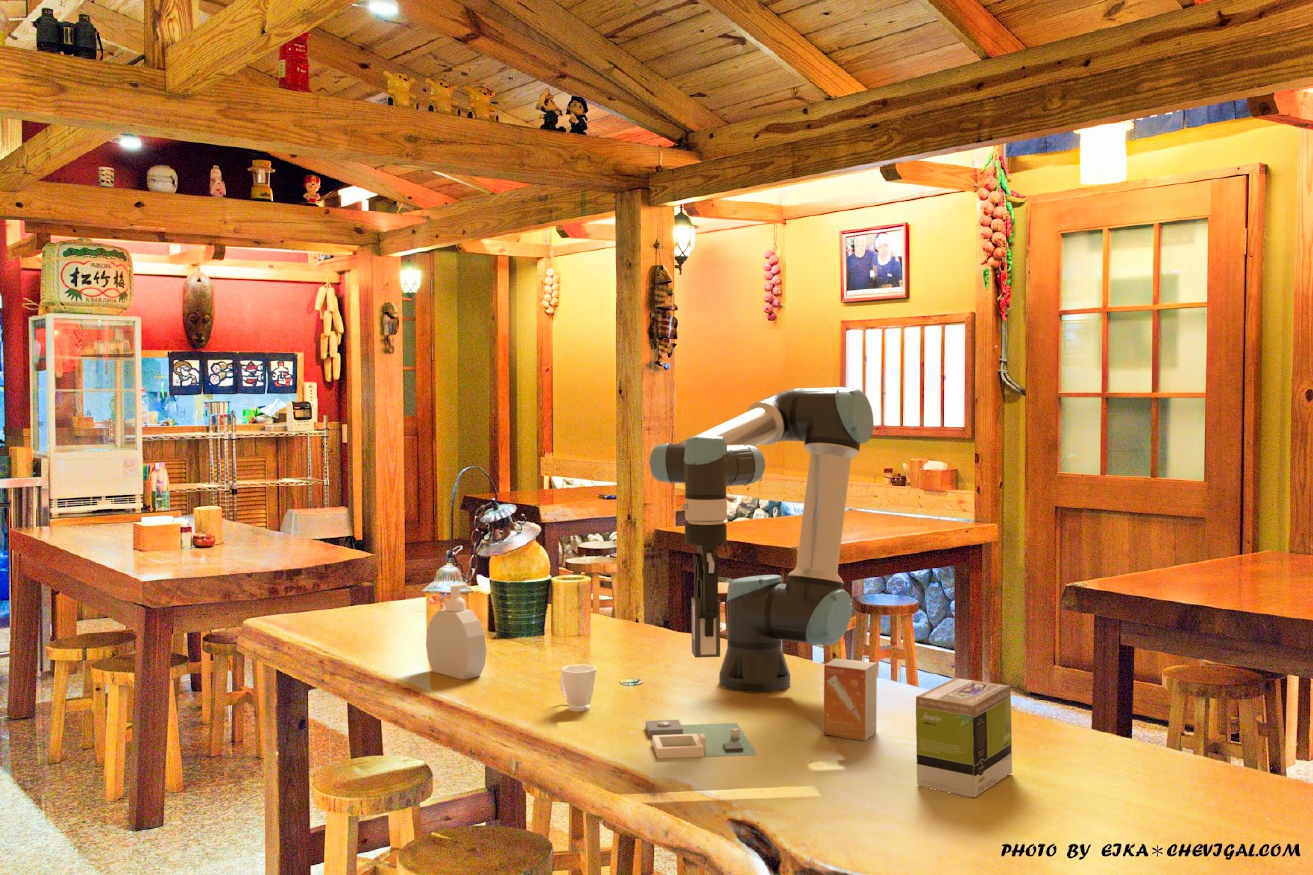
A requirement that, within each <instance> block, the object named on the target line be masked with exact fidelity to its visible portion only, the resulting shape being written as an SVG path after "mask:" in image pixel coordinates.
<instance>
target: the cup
mask: <svg viewBox="0 0 1313 875" xmlns="http://www.w3.org/2000/svg"><path fill="white" fill-rule="evenodd" d="M596 672H597V668H596V667H595V666H594V665H590V664H583V663H581V664H569V665H566V666H563V667H561V673H560V682H559V683H560V691H561V694H562V695H563V698H564V699H565V701H566V702H567V703H568V707H567V709H568V710H569V711H570V712H571V711H572V712H575V713H576V712H577V713H579V712H586V711H589V710H591V707H590V704H591V702H592V698H593V693H594V685H595V679H596Z"/></svg>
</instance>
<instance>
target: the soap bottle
mask: <svg viewBox="0 0 1313 875" xmlns="http://www.w3.org/2000/svg"><path fill="white" fill-rule="evenodd" d="M466 587H467V584H466V583H459V584H458V583H457V584H451V585H450V597H449V598H447V599H446V600H445V608H443V609H438V610H437V611H436V612H435V613H434V614H433V615H432V616H431V619H430V621H429V625H428V627H427V629H426V630H427V632H426V643H425V644H426V645H425V646H426V653H427V659H428V663H429V666H430V668H431V671H432V673H435V674H440V675H444V676H447V677H451V678H453V679H456V680H457V679H458V680H462V681H465V680H469V679H474V678H478V677H481V675H482V672H483V670H484V667H485V665H486V659H487V657H486V656H487V642H486V635H485V632H484V630H483V627H482V624H481V620H480V619H479V617H477V615H476V614H475V613H474V611H473V610H471V609H467V608H466V607H467V606H466V601H465V599H464V598H463V597H461V590H460V589H464V588H466Z"/></svg>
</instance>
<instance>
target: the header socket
mask: <svg viewBox="0 0 1313 875" xmlns="http://www.w3.org/2000/svg"><path fill="white" fill-rule="evenodd" d="M652 745H653V746H652ZM672 745H692V746H674V747H663V746H672ZM651 746H652V748H653V747H654V749H653V751H654V750H655V752H654V754H655V753H656V755H657V757H656V759H657V758H669V759H683V758H682V757H693V758H705V757H704V752H706V737H705V735H704V733H702V734H699V737H698V735H697V734H675V735H652V744H651ZM656 755H655V756H656Z"/></svg>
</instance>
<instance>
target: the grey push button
mask: <svg viewBox="0 0 1313 875" xmlns="http://www.w3.org/2000/svg"><path fill="white" fill-rule="evenodd" d="M681 725H682V724H681V722H680V720H679V719H660V720H645V726H646V727H645V730H646V732H647V735H649V736H648V738H649V739H650V738H652V735H675V734H683V728H682V726H681Z"/></svg>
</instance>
